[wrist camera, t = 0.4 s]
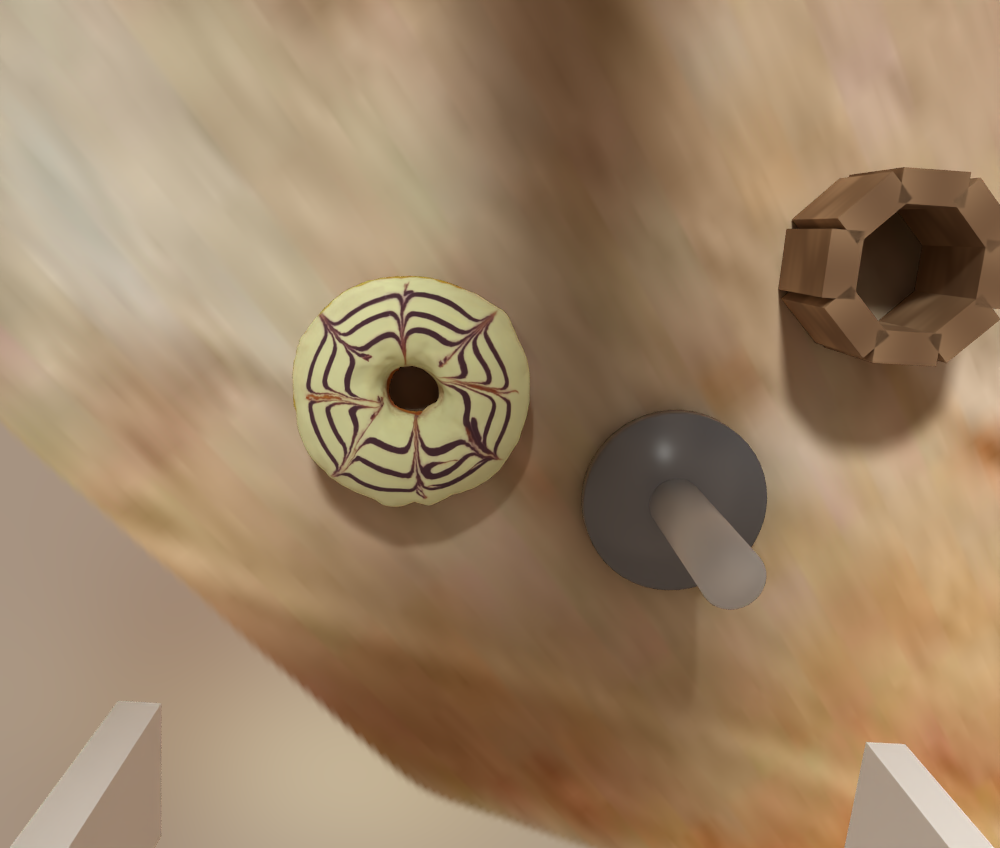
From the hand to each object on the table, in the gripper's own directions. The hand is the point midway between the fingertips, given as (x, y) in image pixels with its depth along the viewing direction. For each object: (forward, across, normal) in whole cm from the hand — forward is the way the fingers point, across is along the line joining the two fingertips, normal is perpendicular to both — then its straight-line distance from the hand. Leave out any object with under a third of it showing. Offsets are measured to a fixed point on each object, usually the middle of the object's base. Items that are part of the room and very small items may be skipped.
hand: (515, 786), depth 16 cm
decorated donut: (+27, -4, +3) cm, 27 cm away
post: (+26, +10, -2) cm, 28 cm away
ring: (+26, +17, +10) cm, 33 cm away
